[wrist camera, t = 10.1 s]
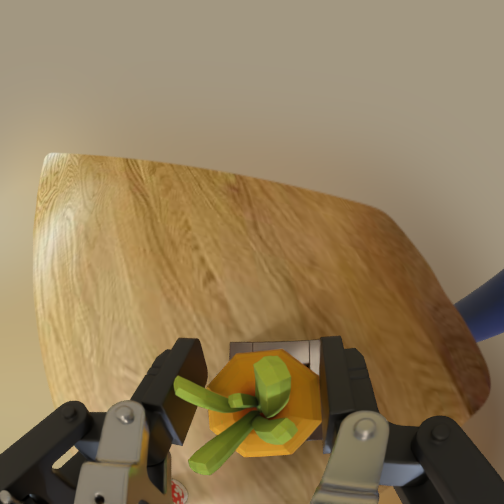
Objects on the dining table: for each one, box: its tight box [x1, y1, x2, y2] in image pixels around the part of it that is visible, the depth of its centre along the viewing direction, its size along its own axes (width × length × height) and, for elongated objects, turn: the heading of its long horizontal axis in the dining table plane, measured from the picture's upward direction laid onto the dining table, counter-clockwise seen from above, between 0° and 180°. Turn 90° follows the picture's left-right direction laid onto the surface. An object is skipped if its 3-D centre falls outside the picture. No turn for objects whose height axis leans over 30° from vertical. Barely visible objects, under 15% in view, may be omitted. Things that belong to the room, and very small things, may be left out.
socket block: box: [229, 340, 323, 441], centre depth 27 cm, size 11×11×4 cm
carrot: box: [174, 349, 322, 475], centre depth 12 cm, size 5×5×15 cm
